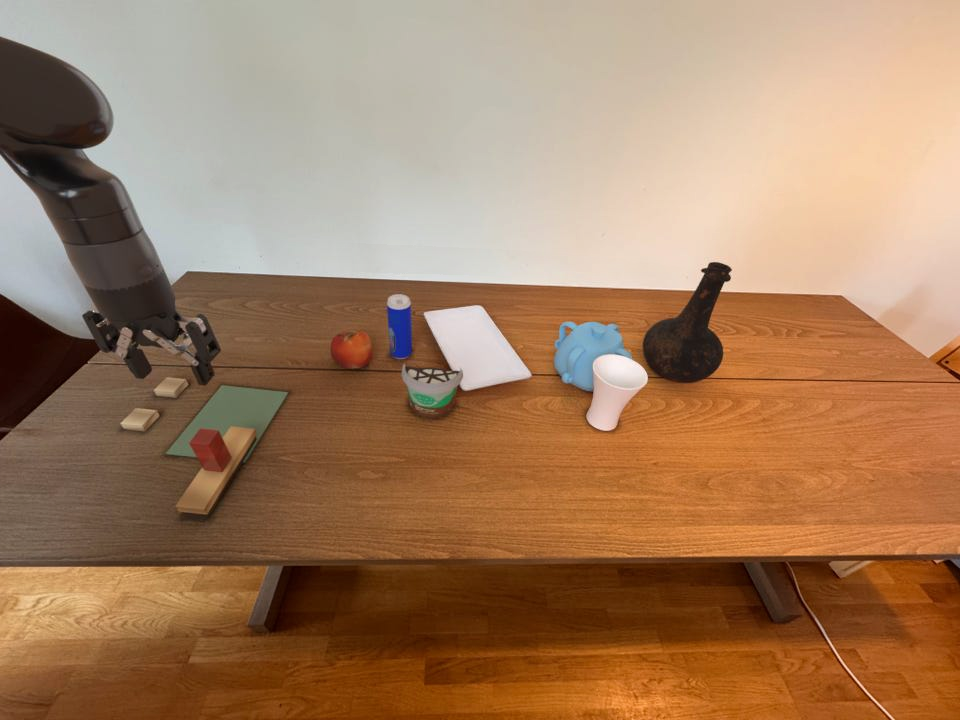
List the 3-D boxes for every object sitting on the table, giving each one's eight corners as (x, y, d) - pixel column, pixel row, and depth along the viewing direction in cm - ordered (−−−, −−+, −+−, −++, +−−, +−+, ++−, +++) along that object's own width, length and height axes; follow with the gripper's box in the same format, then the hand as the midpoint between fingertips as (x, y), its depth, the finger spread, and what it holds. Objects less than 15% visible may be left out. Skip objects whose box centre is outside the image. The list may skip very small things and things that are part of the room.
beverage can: (388, 348, 102) (385, 294, 93) (410, 345, 103) (408, 292, 94) (392, 361, 98) (388, 306, 89) (413, 358, 100) (412, 304, 90)
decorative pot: (550, 350, 107) (560, 304, 98) (613, 357, 106) (629, 312, 98) (552, 393, 94) (564, 344, 86) (624, 402, 94) (643, 354, 85)
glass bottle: (667, 400, 95) (721, 292, 78) (621, 353, 108) (658, 251, 91) (725, 386, 101) (788, 282, 83) (675, 343, 114) (720, 245, 96)
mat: (244, 462, 74) (244, 462, 73) (165, 454, 74) (165, 453, 74) (288, 392, 88) (288, 392, 88) (222, 385, 88) (221, 385, 88)
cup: (628, 410, 92) (648, 362, 83) (625, 444, 84) (647, 395, 75) (580, 396, 94) (596, 348, 86) (573, 429, 86) (589, 380, 78)
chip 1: (145, 431, 77) (141, 425, 76) (123, 429, 77) (119, 423, 76) (159, 415, 80) (156, 410, 79) (139, 413, 80) (135, 407, 79)
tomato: (380, 367, 96) (377, 339, 91) (340, 380, 92) (335, 351, 87) (365, 346, 102) (362, 318, 97) (327, 356, 98) (322, 328, 93)
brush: (210, 519, 65) (186, 482, 59) (182, 516, 65) (155, 479, 59) (259, 439, 77) (244, 401, 71) (235, 436, 77) (218, 398, 71)
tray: (480, 313, 117) (481, 303, 115) (531, 386, 95) (534, 375, 93) (421, 322, 112) (421, 311, 110) (461, 402, 90) (462, 390, 87)
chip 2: (176, 398, 84) (173, 392, 83) (156, 395, 84) (153, 390, 83) (188, 384, 87) (185, 378, 86) (169, 382, 87) (166, 376, 86)
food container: (397, 420, 84) (395, 383, 78) (403, 398, 89) (401, 362, 83) (459, 425, 84) (461, 388, 78) (461, 403, 89) (463, 367, 83)
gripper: (204, 262, 50) (241, 366, 60) (86, 250, 50) (143, 356, 60) (162, 293, 44) (211, 403, 55) (29, 279, 44) (103, 391, 55)
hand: (175, 378), depth 57 cm, fingers open, 8 cm apart
